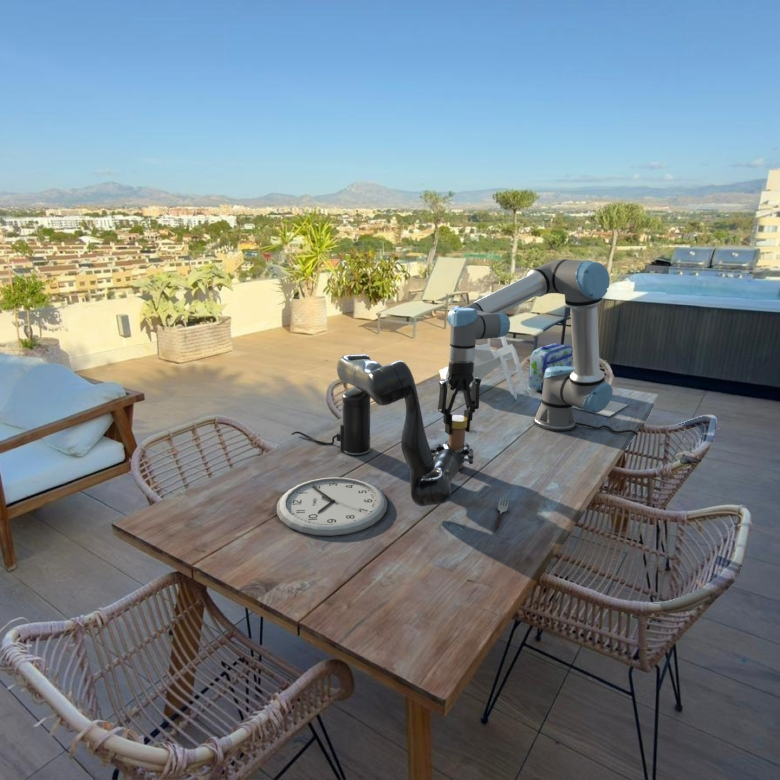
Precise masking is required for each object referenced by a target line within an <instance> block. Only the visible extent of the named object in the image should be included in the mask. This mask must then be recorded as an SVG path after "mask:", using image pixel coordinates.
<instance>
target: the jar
mask: <svg viewBox="0 0 780 780" xmlns="http://www.w3.org/2000/svg"><path fill="white" fill-rule="evenodd" d="M465 439H466V431H465V428H463V429H455V428H452V430H451V435H449V434H448V441H449V449H452V450H457V449H459V448H463V447H464V445H465V443H466V442H465V441H466V440H465ZM463 468H464V462H463V463H461V466H460V468H459V470H463Z"/></svg>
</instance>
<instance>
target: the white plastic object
mask: <svg viewBox="0 0 780 780" xmlns="http://www.w3.org/2000/svg"><path fill="white" fill-rule="evenodd" d="M499 338H500V342H501V345H502V347H500V348H498V349H496V350H495V349H493V348H492V347H491V346H490V344H489V343H488V342H487V343H483V344H479V345H475V357H474V360H473V362H474V371H473V377H477V378H479V379H481V382H482V381H484V378H485V377H486V376H487V375H489V374H490V373H492V372H494V371H495V370H496V369H497V368H499V367H500V366H502V370H503V373H504V376H505V380H506V383H507V386H508V390H509V393H510V394H511V395H512V397H513V398H514V399H515V400H517V392H516V391H517V390H516V388H515V385H514V381H513V378H512V375H511V371H510V369H509V365H508V361H510V360H513V363H514V366H515V369H516V372H517V376H518V380H519V382H520V385H521V389H522V391H523V393H524V395H525V396H526V397H528V396H531V395H530V390H529V386H528V384H527V381H526V378H525V375H524V371H523V369H522V368H523V367H522V366H521V362H520V359H519V355H518V352H517V349H516V347H515V346H514V345H513V343H511V344H508V341H507V337H506V335H505V336H503V337H499ZM450 360H451V359H450V358H449V361H450ZM448 369H449V365H448V366H446V367H444V368H442V369H440V370H439V371H438V372H439V376H440V381H444V380H447V378H448V376H449V371H448ZM448 386H450V384H448Z"/></svg>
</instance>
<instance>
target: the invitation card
mask: <svg viewBox="0 0 780 780" xmlns="http://www.w3.org/2000/svg"><path fill="white" fill-rule="evenodd" d="M628 406H629V404H627V403H623V402H618V401H614V400H610V402H609V403H608V405H607V406H606V407H605V408H604V409H603V410H602V411H600V412H597V413H595V414H596V415H600V416H604V417H608V418H609V417H611V416H613V415H614V414H616V413H617V412H619V411H621V410H623V409H624V408H626V407H628ZM573 409H575V410H581V411H584V410H583V409H580V408H578V407H575V406H573Z"/></svg>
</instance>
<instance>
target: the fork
mask: <svg viewBox="0 0 780 780" xmlns="http://www.w3.org/2000/svg"><path fill="white" fill-rule="evenodd" d="M501 500H502V501H501ZM509 500H510V497H508V499H507V498H505V500H504V496H503V497H500V498H499V502H498V505H497V511H499V514H498V515H497V517H496V521H495V527H494V532H497V530H498V527H499V526H500V524H501V522H502V515H503V513H504V512H507V511H508V509H509Z"/></svg>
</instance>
